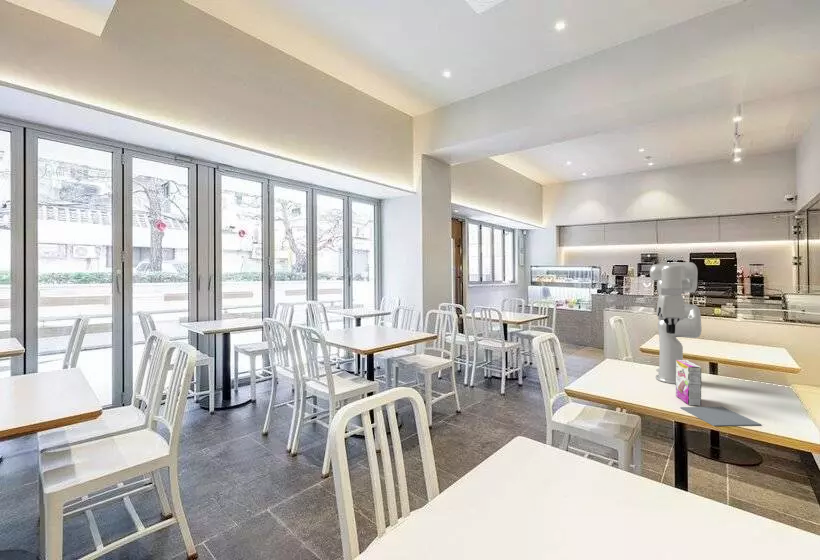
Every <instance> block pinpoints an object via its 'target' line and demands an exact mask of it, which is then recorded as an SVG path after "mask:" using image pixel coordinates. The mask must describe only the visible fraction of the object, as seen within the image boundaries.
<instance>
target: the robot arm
mask: <svg viewBox="0 0 820 560" xmlns="http://www.w3.org/2000/svg"><path fill="white" fill-rule="evenodd" d="M698 273H699V272H698V267H697V265H696V264H695V263H694V262H691V261H690V262H687V261H685V262H684V261H683V262H674V261H673V262H663V263H657V264H652V265H651V266H650V269H649V277H650V279H651V280H652V281H657V282H656V291H657V293H658V298H657V303H656V316H657V319H658V321H657V330H658V336H659V358H658V361H659V365H658V366H659V367H658V368H657V369H656V372H658V374H656V375H655V379H656V381H659V382H663V383H665V384H675V385H676V360H684V358H683V354H684V350H683V347H684V346H683V344H682V342H681V341H680V340H679V339H678V338H687V339H688V338H689V339H697V338H699V337H700V336H701V335H702V317H701V311H700V307H699V306H698V305H696V304H692V303H691V304H688V303H685V301H684V296H683V295H682V294H683V293H684V294H686V293H687V294H688V293H689V294H690V293H694V292H696V290H697V288H698Z"/></svg>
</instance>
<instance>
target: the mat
mask: <svg viewBox="0 0 820 560" xmlns="http://www.w3.org/2000/svg"><path fill="white" fill-rule="evenodd" d="M680 409H681V410H683V411H685V412H687V413H688V414H691V416H694V417H696V418H697V419H700V420H701V421H704V422H705V423H707V424H709V425H711V426H713V427H742V426H743V427H745V426H751V427H753V426H754V427H755V426H762V423H760V422H757V421H755V420H753V419H751V418H750V417H746V416H744V415H742V414H740V413H737V412H735V411H733V410H732V409H729V408H727V407H724V406H683V407H682V406H681V407H680Z"/></svg>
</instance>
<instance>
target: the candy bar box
mask: <svg viewBox="0 0 820 560" xmlns="http://www.w3.org/2000/svg"><path fill="white" fill-rule="evenodd" d="M675 396H676V397H677V398H678V399H679V400H681V401H682V402H683V403H685V404H686V405H688V406H689V407H702V366H700V365H698V364H696V363H695V362H692V361H690V360H687V359H683V360H676V384H675Z"/></svg>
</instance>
